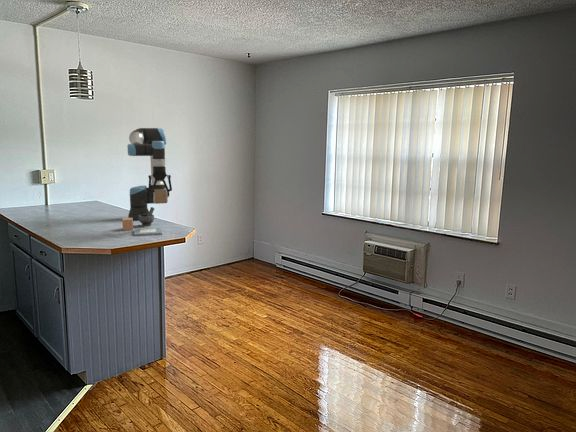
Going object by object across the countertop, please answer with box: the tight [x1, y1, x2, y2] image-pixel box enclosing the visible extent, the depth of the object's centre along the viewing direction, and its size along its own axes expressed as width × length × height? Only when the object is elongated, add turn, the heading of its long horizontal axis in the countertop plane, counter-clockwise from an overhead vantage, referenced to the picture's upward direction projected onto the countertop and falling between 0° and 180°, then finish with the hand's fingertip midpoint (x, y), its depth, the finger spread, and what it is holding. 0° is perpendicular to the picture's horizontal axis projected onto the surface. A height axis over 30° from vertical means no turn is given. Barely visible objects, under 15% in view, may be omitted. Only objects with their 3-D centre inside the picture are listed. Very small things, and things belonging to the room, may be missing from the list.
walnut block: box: [154, 189, 168, 205], centre depth 280 cm, size 7×7×8 cm
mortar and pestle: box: [138, 206, 155, 227], centre depth 294 cm, size 11×9×12 cm
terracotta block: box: [121, 217, 134, 232], centre depth 281 cm, size 6×6×7 cm
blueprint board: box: [133, 227, 163, 237], centre depth 272 cm, size 16×16×1 cm
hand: (160, 202), depth 281 cm, fingers closed on walnut block, 7 cm apart
